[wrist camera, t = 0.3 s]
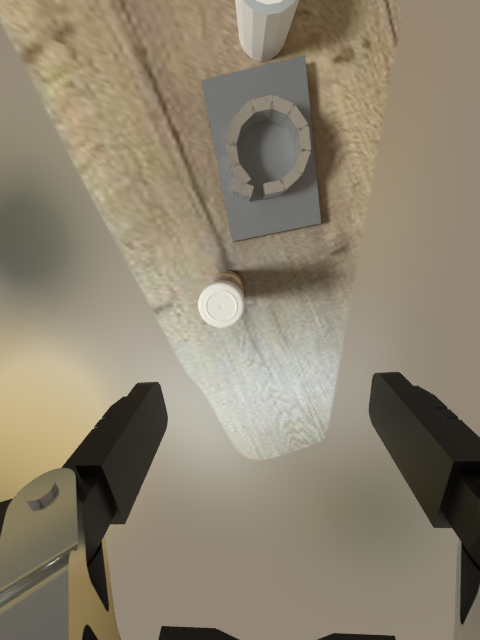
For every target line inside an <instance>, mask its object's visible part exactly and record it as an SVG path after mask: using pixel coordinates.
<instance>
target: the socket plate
mask: <svg viewBox="0 0 480 640" xmlns="http://www.w3.org/2000/svg"><path fill="white" fill-rule="evenodd" d="M201 81H202V86H203V91H204V97H205V102H206V107H207V112H208V117H209V122H210V127H211V133H212V138H213V143H214V148H215V153H216V158H217V164H218V169H219V174H220V179H221V184H222V189H223V194H224V200H225V205H226V210H227V215H228V220H229V225H230V230H231V236H232V241H233V242H234V241H239V240H244V239H249V238H253V237H258V236H263V235H268V234H273V233H278V232H283V231H288V230H292V229H297V228H302V227H307V226H312V225H317V224H320V223H321V216H320V206H319V195H318V185H317V175H316V164H315V154H314V144H313V133H312V123H311V112H310V102H309V92H308V81H307V71H306V61H305V55H304V56H300V57H296V58H292V59H288V60H284V61H280V62H276V63H271V64H267V65H263V66H259V67H255V68H251V69H247V70H242V71H238V72H234V73H230V74H226V75H222V76H218V77H213V78H209V79H205V80H201ZM269 95H272V99H273V96H274V95H275V96H277V97H280V98H282V99H285V100H287V101H289V102H292V103H294V104H293V107H294V106H295V105H296V107H297V108H298V110H299V111H300V112H301V114H302V115H303V117H304V118H305V120H306V121H307V123H308V125H307V126H309V133H310V143H311V150H310V152H311V153H310V155H309V158H308V161H307V164H306V166H305V169H304V172H303V174H302V175H301V177H300V178H299V179H298V180H297V181H296V182H295V183H294V184H293V185H292V186H291V187H290V188H289V189H288V190H287V191H286V192H285V193H284V194H282V195H281V196H277V197H273V198H268V199H263V198H262V192H261V189H262V186H263V183H268V182H273V181H277V180H281V179H282V178H283V177H284V176H286V175H287V174H288V173H289V172H290V171H291V168H292V165H293V162H294V150H293V142H292V140H291V139H290V138H289V136H288V135H287V133H286V132H285V130H284V129H283V128H281V127H279V126H276V125H274V124H271V123H269V122H268V123H263V124H259V125H255V126H252V127H251V128H250V129H249V130H248V131H247V133H246V134H245V135H244V136H243V137H242V138H241V140H240V144H239V147H238V151H237V153H238V159H239V164H240V165H241V166H242V168H243V169H244V170H245V171H246V173H247V174H248V175H249V177H250V178H251V182H250V185H251V186H254V189H253V193H252V196H251V199H250V202H248V201H246V200H243V199H241V198H238V197H235V196H233V193H232V189H233V186H234V183H235V181H234V180H233V179H232V178H231V175H230V171H229V166H228V160H227V155H226V147H225V142H226V138H227V135H228V131H229V127H230V124H231V120H233V117H234V116H235V115H236V114H237V113H238V112H239V111H240V110H241V108H242V107H243V106H244V105H245V104H246V103H247V102H248V101H249V102H251V100H252V99H256V98H260V97H265V96H269ZM293 107H292V108H293Z"/></svg>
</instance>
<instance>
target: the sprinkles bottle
mask: <svg viewBox="0 0 480 640" xmlns="http://www.w3.org/2000/svg"><path fill="white" fill-rule="evenodd" d="M198 307H199V312H200V314H201V316H202V318H203V319H204V320H205V321H206V322H207V323H208V324H210V325H212V326H214V327H218V328H226V327H230V326H232V325H234V324H236V323H237V322H238V321H239V320H240V319H241V317H242V315H243V313H244V309H245V299H244V294H243V282H242V279H241V278H240V276H239V275H238V274H236V273H235V272H232V271H223V272H220V273H219V274H218V275H217V276H216V277H215V278H214V280H213V281H212V282H211V284H209V285H208V286H207V287H206V288H205V289H204V290H203V292H202V293H201V295H200V298H199V302H198Z"/></svg>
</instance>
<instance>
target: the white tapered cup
mask: <svg viewBox="0 0 480 640" xmlns="http://www.w3.org/2000/svg"><path fill="white" fill-rule="evenodd" d="M235 2H236V12H237V21H238V30H239V39H240V43H241V45H242V47H243V49H244V51H245V52H246V53H247V54H248V55H249V56H250V57H251V58H252V59H255V60H258V61H267V60H271V59H272V58H273V57H275V56H276V55H278V54H279V52H280V51H281V49H282V47H283V46H284V44H285V41H286V38H287V35H288V32H289V29H290V26H291V23H292V20H293V17H294V15H295V12H296V9H297V6H298V3H299V0H235Z"/></svg>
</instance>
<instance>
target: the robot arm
mask: <svg viewBox="0 0 480 640" xmlns="http://www.w3.org/2000/svg"><path fill="white" fill-rule="evenodd" d="M369 415H370V419H371V422H372V425H373V427H374V428H375V430H376V432H377V433H378V435H379V436H380V438H381V440H382V442H383V443H384V445H385V447H386V448H387V450H388V452H389V453H390V455H391V457H392V458H393V460H394V462H395V463H396V465H397V467H398V469H399V470H400V472H401V474H402V475H403V477H404V479H405V480H406V482H407V483H408V485H409V487H410V488H411V490H412V492H413V494H414V495H415V497H416V499H417V500H418V502H419V504H420V505H421V507H422V509H423V510H424V512H425V514H426V515H427V517H428V519H429V520H430V522H431V524H432V526H433V527H434V528H453V530H454V531H455V533H456V534H457V536H458V537H459V541H458V545H457V564H456V565H457V566H456V595H455V625H454V638H453V640H480V437H479V436H477V435H476V434H475V433H474V432H473V431H472V430H471V429H470V428H469V427H468V426H467V425H466V424H465V423H464V422H463V421H462V420H459V419H458V417H457V416H456V415H455V414H454V413H453V412H452V411H451V410H450V409H449V410H448V409H447V406H445V405H444V404H443V403H442V402H441V401H440V400H439V399H438V398H437V397H436V396H435V395H433V394H431V393H430V392H428V391H426V390H424V389H422V388H421V387H419V386H413V385H412V384H411V383H410V382H409V381H408V380H407V379H406V378H405V377H404V376H403V375H402V374H401V373H399V372H388V373H375V374H374V375H373V378H372V386H371V394H370V402H369ZM167 420H168V416H167V411H166V406H165V402H164V398H163V394H162V390H161V386H160V384H159V383H158V382H146V383H137V384H136V385H135V386H134V388H133V389H132V390H131V392H130V393H129V394H128V396H127V397H122V398H121V399H120V400H118V401H117V402H116V403H115V404H113V405H112V406H111V407H110V408H109V409H108V410H107V412H106V413H105V414H104V415H103V417H102V420H99V422H98V423H97V424H96V425H95V427H94V429H92V430H91V432H90V433H89V434H88V435H87V437H86V438H85V439H84V440H83V442H82V443H81V444H80V445H79V447H78V448H77V449H76V450H75V452H74V453H73V454H72V455H71V457H70V458H69V459H68V460H67V462H66V463H65V464H64V465H63V467H62V468H58V469H54V470H51V471H49V472H46V473H44V474H42V475H40V476H39V477H37V478H35V479H34V480H32V481H31V482H29V483H28V484H27V485H26V486H25V487H23V488H22V489H21V490H20V491H19V492H18V493H17V495H16V496H15V497H14V498H13V499H10V500H7V501H3V502H0V640H121V638H120V634H119V631H118V628H117V623H116V618H115V612H114V605H113V596H112V588H111V581H110V573H109V565H108V557H107V550H106V542H105V539H104V535H105V533H106V531H107V529H108V527H109V525H110V524H125V523H126V520H127V518H128V516H129V514H130V511H131V509H132V507H133V504H134V502H135V500H136V497H137V495H138V493H139V491H140V488H141V486H142V484H143V481H144V479H145V477H146V475H147V472H148V470H149V468H150V465H151V463H152V461H153V459H154V456H155V454H156V452H157V449H158V447H159V445H160V442H161V440H162V438H163V436H164V433H165V431H166V428H167ZM159 640H239V639H236V638H235V637H233V636H230V635H228V634H226V633H224V632H222V631H220V630H218V629H216V628H194V627H170V626H162V627H161V631H160V636H159ZM318 640H396V639H395V636H387V635H362V634H339V633H333V634H331V635H328V636H326V637H323V638H321V639H318Z"/></svg>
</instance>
